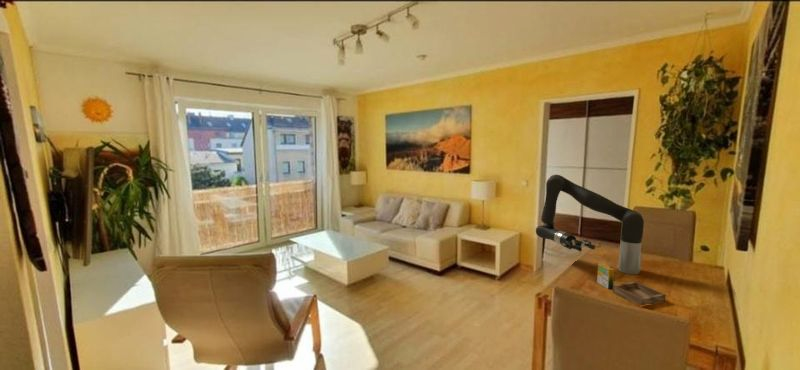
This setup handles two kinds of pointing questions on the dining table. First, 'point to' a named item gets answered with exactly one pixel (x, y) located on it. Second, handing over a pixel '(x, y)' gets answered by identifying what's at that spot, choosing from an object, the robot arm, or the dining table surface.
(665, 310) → the dining table surface
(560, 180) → the robot arm
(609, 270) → the crayon box
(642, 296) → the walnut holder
